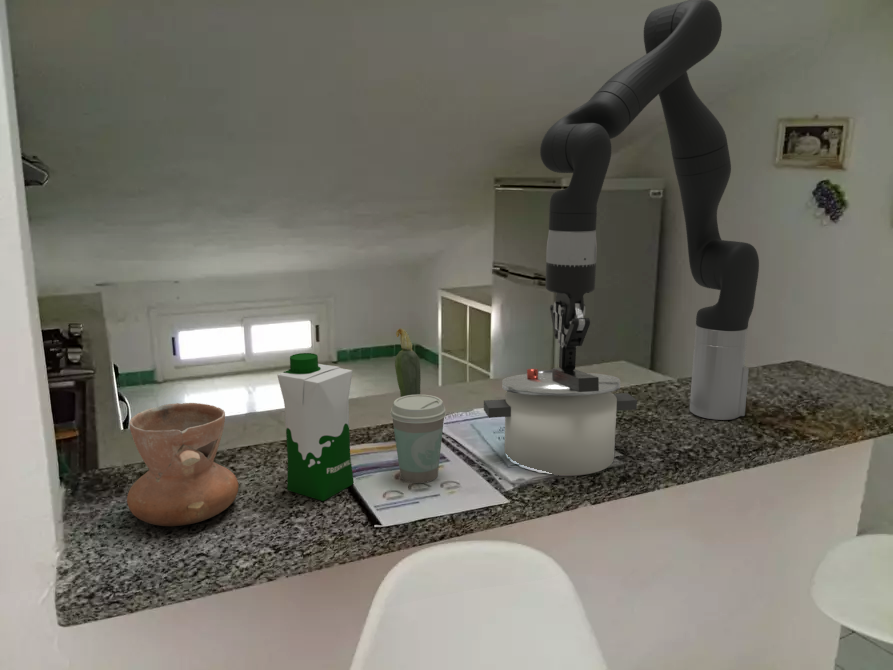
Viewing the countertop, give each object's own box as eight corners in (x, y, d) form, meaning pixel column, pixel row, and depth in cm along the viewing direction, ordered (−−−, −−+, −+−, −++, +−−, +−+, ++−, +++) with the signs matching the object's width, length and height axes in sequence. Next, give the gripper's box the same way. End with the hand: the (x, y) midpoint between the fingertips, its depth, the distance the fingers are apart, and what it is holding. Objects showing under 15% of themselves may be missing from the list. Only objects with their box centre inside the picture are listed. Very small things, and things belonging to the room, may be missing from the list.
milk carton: (318, 470, 114) (312, 348, 109) (363, 483, 109) (359, 355, 105) (278, 491, 106) (269, 360, 102) (324, 506, 102) (318, 369, 97)
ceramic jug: (253, 525, 96) (247, 423, 93) (136, 551, 89) (125, 442, 87) (224, 479, 112) (218, 390, 109) (122, 498, 105) (113, 404, 102)
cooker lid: (591, 377, 131) (591, 357, 130) (650, 398, 106) (650, 374, 106) (489, 382, 128) (488, 362, 128) (525, 405, 103) (524, 380, 103)
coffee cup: (405, 491, 106) (403, 414, 104) (383, 470, 114) (381, 398, 111) (456, 480, 110) (456, 405, 107) (431, 460, 117) (430, 390, 115)
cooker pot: (609, 430, 131) (612, 377, 128) (651, 470, 113) (655, 409, 111) (475, 438, 127) (475, 384, 125) (497, 480, 110) (498, 418, 107)
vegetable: (422, 434, 129) (421, 325, 125) (419, 443, 125) (418, 330, 120) (398, 433, 130) (396, 325, 125) (394, 442, 125) (392, 330, 121)
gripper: (610, 265, 104) (604, 380, 108) (580, 254, 117) (576, 358, 120) (560, 266, 103) (556, 382, 107) (535, 255, 116) (532, 359, 119)
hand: (566, 369), depth 114 cm, fingers closed
